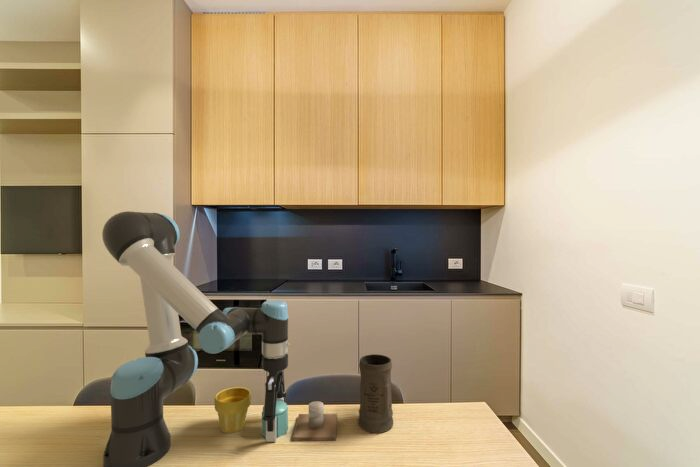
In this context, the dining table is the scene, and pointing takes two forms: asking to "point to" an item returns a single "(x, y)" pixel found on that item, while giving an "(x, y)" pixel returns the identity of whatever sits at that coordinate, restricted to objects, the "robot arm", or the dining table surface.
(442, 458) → the dining table surface
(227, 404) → the plant pot
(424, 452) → the dining table surface
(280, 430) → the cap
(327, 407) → the dining table surface
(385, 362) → the beer stein
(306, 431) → the post block
